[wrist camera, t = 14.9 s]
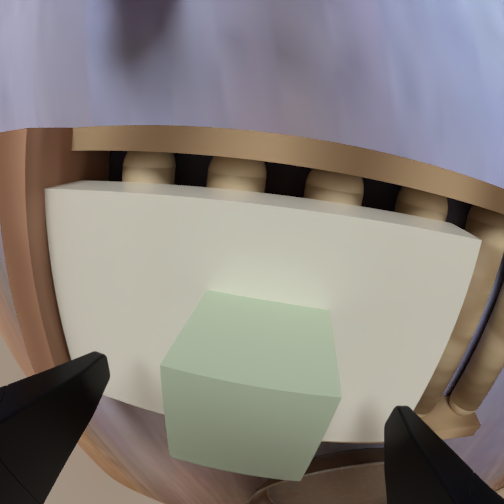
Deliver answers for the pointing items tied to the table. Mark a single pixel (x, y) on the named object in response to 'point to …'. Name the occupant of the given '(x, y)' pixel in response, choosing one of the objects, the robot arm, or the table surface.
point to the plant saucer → (331, 481)
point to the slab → (257, 283)
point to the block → (250, 386)
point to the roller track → (250, 179)
